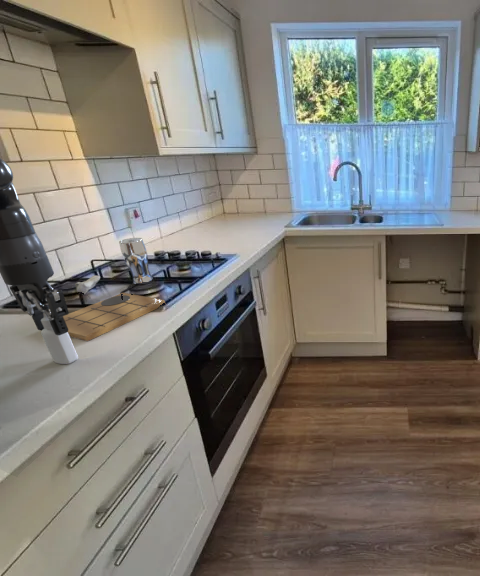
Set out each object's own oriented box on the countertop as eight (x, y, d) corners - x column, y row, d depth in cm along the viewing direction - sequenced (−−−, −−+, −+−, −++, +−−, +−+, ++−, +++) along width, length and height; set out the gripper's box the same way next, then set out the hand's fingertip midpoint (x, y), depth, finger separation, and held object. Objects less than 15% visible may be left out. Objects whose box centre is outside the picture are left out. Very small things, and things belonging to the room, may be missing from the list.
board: (87, 341, 89) (85, 335, 88) (43, 329, 95) (40, 324, 95) (165, 304, 108) (164, 299, 107) (124, 296, 114) (122, 292, 113)
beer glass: (126, 284, 123) (112, 242, 118) (144, 277, 130) (132, 236, 124) (141, 286, 121) (128, 243, 116) (159, 279, 127) (147, 238, 122)
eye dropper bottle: (77, 351, 85) (58, 305, 80) (79, 361, 81) (59, 313, 76) (53, 358, 82) (31, 311, 78) (54, 369, 78) (31, 320, 74)
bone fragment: (102, 282, 126) (99, 272, 125) (89, 294, 116) (85, 284, 115) (87, 284, 125) (83, 274, 124) (72, 296, 115) (68, 286, 114)
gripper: (-23, 260, 71) (13, 334, 78) (19, 267, 67) (54, 345, 73) (23, 249, 78) (53, 318, 84) (65, 255, 73) (93, 328, 80)
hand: (53, 330), depth 79 cm, fingers closed on eye dropper bottle, 5 cm apart
